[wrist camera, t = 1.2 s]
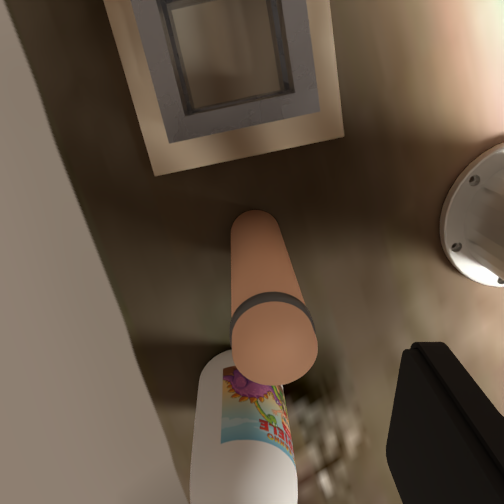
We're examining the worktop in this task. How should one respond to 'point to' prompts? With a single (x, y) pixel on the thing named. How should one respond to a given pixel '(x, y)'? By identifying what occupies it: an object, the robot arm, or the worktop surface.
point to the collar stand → (227, 76)
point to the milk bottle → (240, 440)
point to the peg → (267, 305)
